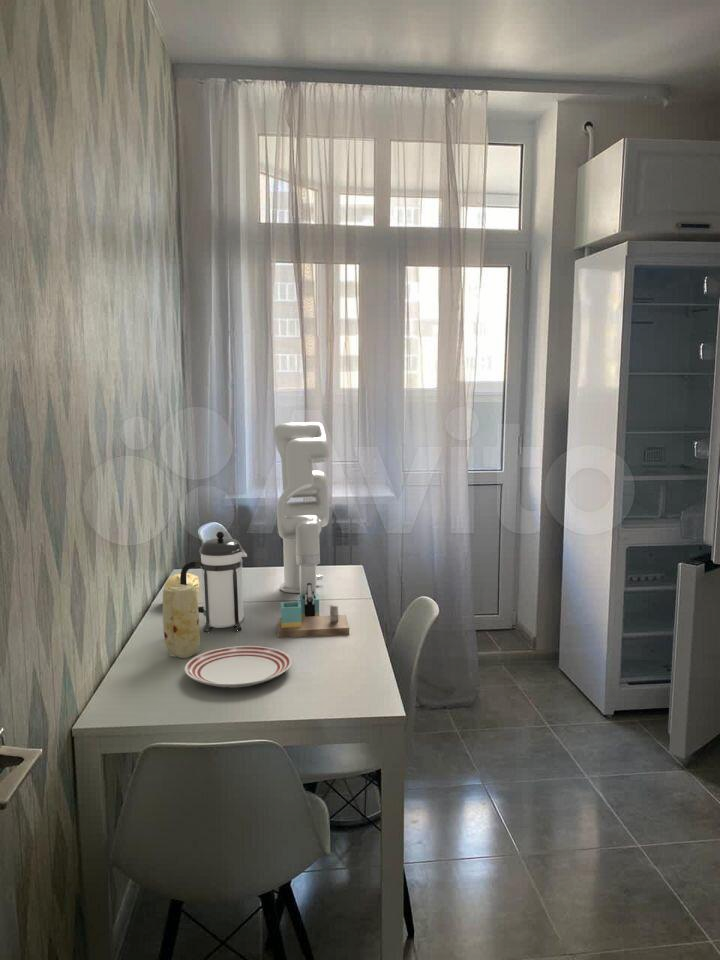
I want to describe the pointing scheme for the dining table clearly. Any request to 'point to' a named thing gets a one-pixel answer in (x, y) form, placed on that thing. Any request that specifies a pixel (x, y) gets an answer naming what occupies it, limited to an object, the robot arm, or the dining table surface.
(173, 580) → the sculpture
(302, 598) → the sleeve
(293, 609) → the seated sleeve
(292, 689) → the dining table surface
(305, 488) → the robot arm
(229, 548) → the coffee press
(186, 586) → the food model
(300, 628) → the pin board
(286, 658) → the dinner plate
